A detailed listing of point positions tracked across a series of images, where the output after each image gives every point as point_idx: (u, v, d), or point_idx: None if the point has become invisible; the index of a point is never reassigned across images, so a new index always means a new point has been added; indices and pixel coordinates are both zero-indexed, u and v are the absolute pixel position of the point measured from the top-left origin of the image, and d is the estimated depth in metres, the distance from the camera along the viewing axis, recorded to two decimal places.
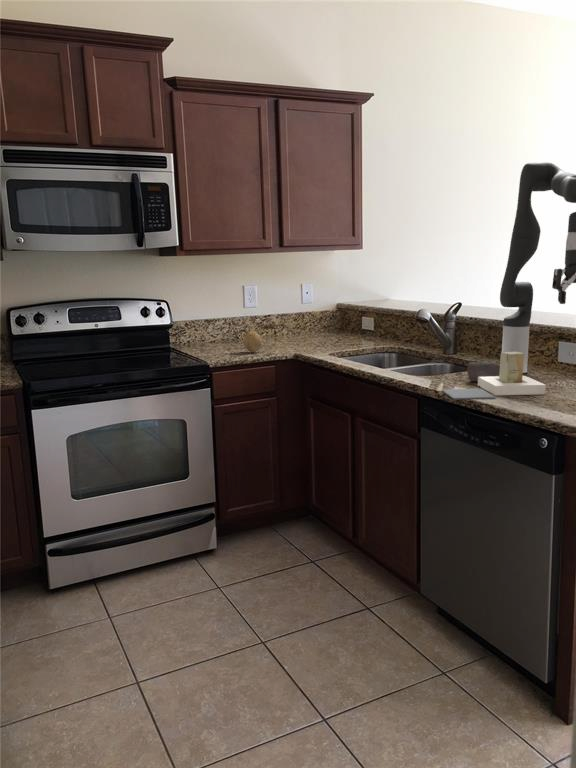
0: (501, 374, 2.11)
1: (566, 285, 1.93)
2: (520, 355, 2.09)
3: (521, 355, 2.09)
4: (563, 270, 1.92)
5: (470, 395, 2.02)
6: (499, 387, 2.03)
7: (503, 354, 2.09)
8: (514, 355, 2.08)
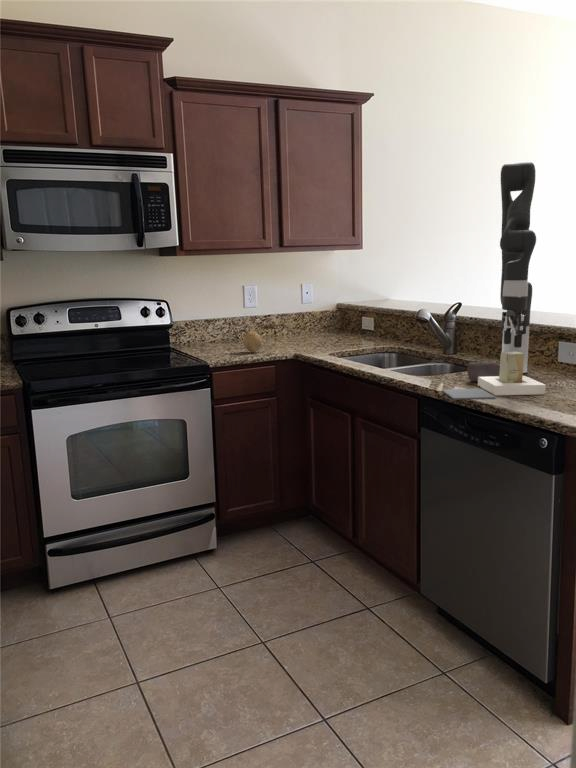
0: (501, 374, 2.11)
1: None
2: (520, 355, 2.09)
3: (521, 355, 2.09)
4: None
5: (470, 395, 2.02)
6: (499, 387, 2.03)
7: (503, 354, 2.09)
8: (514, 355, 2.08)
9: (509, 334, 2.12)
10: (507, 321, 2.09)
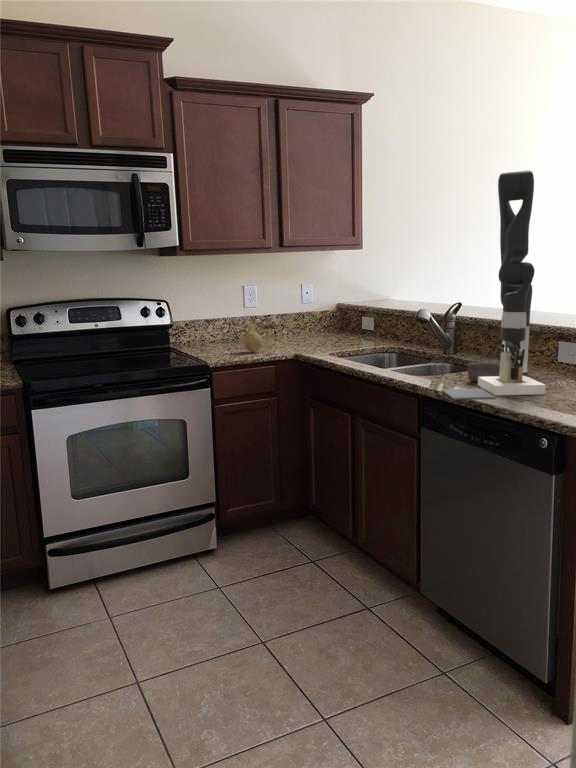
0: (501, 374, 2.11)
1: None
2: None
3: None
4: None
5: (470, 395, 2.02)
6: (499, 387, 2.03)
7: (503, 354, 2.09)
8: None
9: None
10: (506, 351, 2.11)
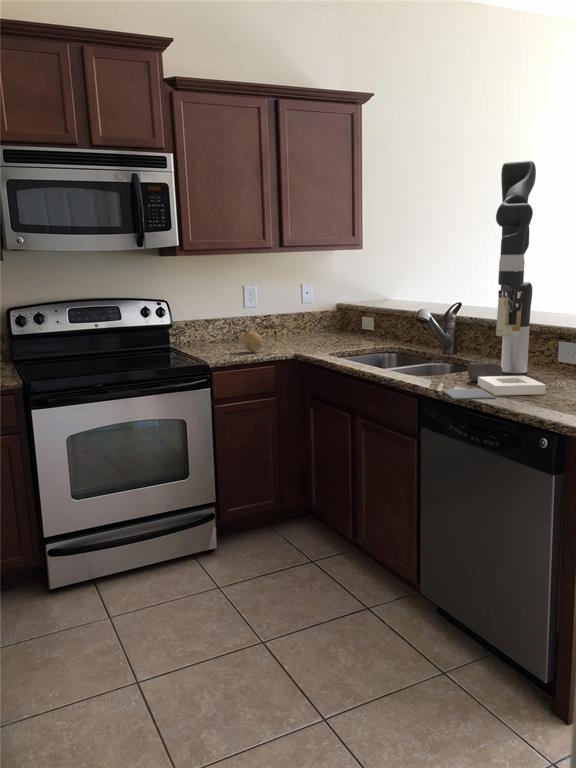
0: (499, 320, 2.06)
1: None
2: None
3: None
4: None
5: (470, 395, 2.02)
6: (499, 387, 2.03)
7: (501, 299, 2.05)
8: None
9: None
10: None
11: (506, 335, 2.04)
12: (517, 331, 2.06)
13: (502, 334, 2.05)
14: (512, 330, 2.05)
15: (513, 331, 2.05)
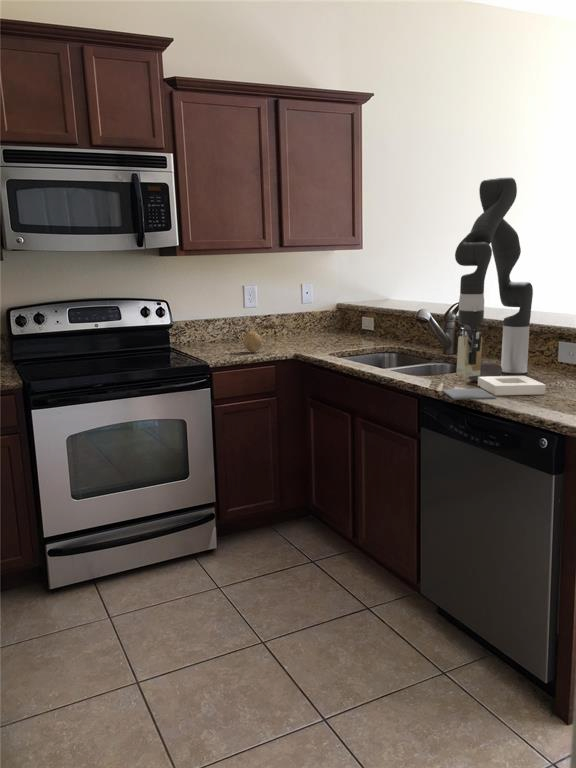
0: (459, 359, 2.03)
1: None
2: None
3: None
4: None
5: (470, 395, 2.02)
6: (499, 387, 2.03)
7: (461, 338, 2.01)
8: None
9: None
10: None
11: (466, 375, 2.01)
12: (477, 371, 2.03)
13: (462, 374, 2.02)
14: (472, 370, 2.02)
15: (473, 370, 2.02)
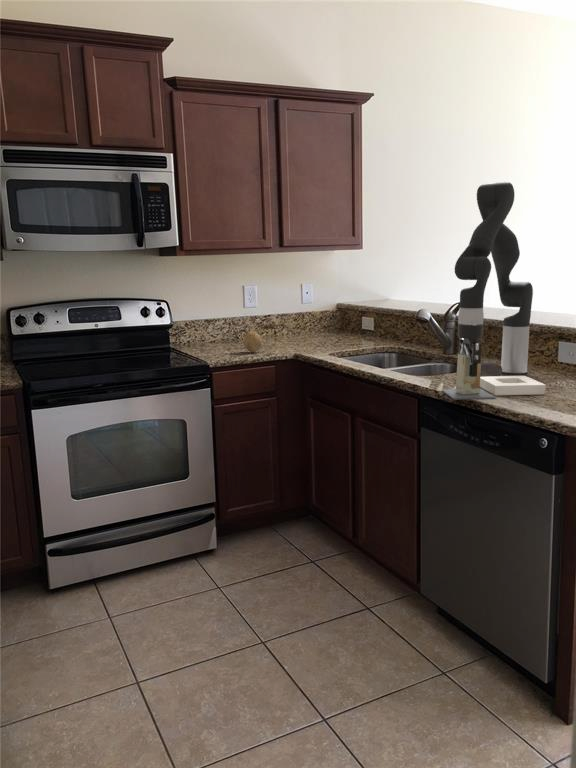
0: (458, 377, 2.04)
1: None
2: None
3: None
4: None
5: (470, 395, 2.02)
6: (499, 387, 2.03)
7: (460, 356, 2.03)
8: None
9: None
10: (463, 349, 2.04)
11: (464, 393, 2.03)
12: (477, 389, 2.04)
13: (461, 391, 2.03)
14: (471, 388, 2.03)
15: (472, 388, 2.03)
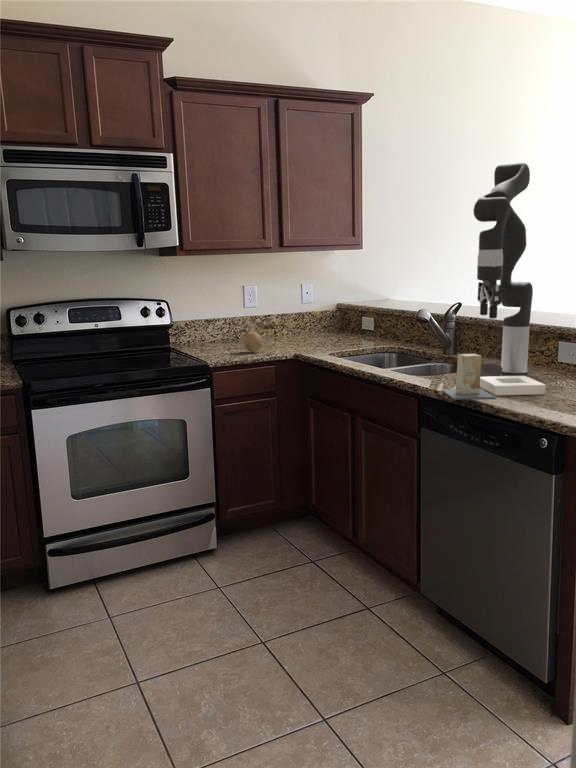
0: (458, 377, 2.04)
1: None
2: (477, 357, 2.02)
3: (478, 357, 2.02)
4: None
5: (470, 395, 2.02)
6: (499, 387, 2.03)
7: (460, 356, 2.03)
8: (470, 357, 2.01)
9: (485, 305, 2.08)
10: (483, 292, 2.05)
11: (464, 393, 2.03)
12: (477, 389, 2.04)
13: (461, 391, 2.03)
14: (471, 388, 2.03)
15: (472, 388, 2.03)
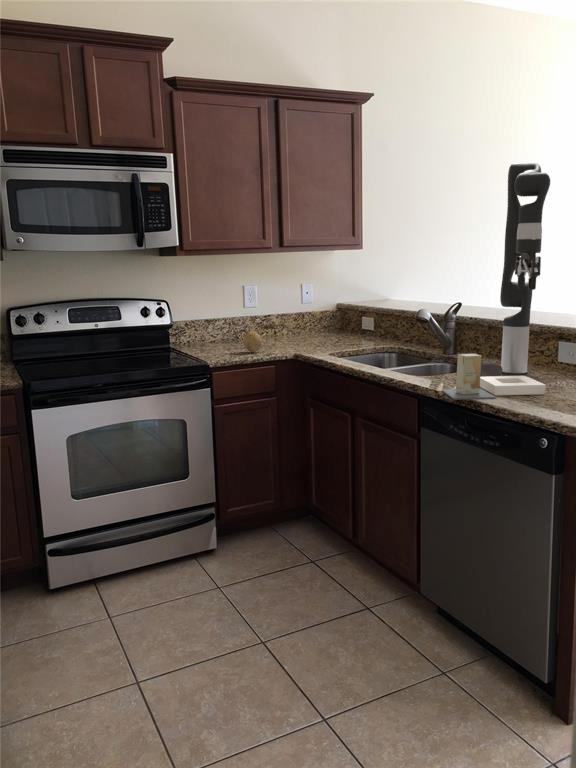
0: (458, 377, 2.04)
1: None
2: (477, 357, 2.02)
3: (478, 357, 2.02)
4: None
5: (470, 395, 2.02)
6: (499, 387, 2.03)
7: (460, 356, 2.03)
8: (470, 357, 2.01)
9: (523, 278, 2.15)
10: (521, 265, 2.12)
11: (464, 393, 2.03)
12: (477, 389, 2.04)
13: (461, 391, 2.03)
14: (471, 388, 2.03)
15: (472, 388, 2.03)
